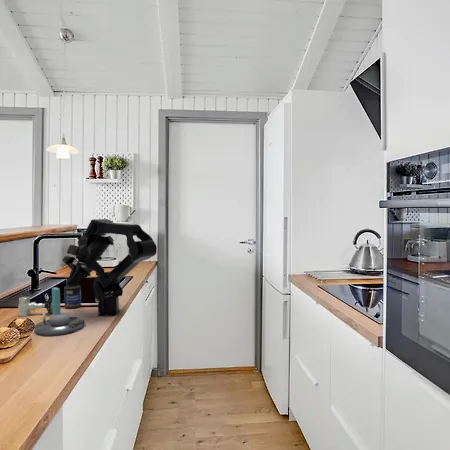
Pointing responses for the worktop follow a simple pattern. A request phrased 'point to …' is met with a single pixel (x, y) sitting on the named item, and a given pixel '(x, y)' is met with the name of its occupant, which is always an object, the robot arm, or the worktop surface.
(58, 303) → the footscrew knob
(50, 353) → the worktop surface
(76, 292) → the pill bottle
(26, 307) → the valve
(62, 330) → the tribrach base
